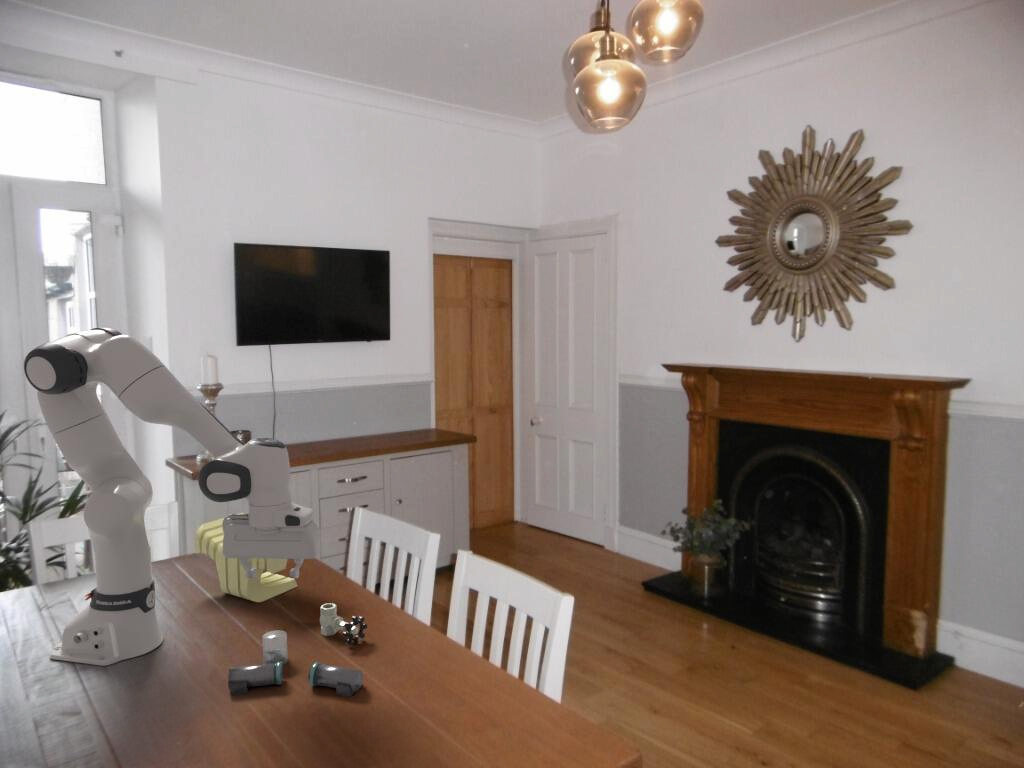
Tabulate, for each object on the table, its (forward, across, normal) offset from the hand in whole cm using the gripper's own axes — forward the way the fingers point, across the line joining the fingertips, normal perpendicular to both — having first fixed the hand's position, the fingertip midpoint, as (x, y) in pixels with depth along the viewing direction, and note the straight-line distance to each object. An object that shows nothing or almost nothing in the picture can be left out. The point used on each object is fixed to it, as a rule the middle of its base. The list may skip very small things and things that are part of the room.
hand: (272, 577), depth 155 cm
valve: (+19, +10, +12) cm, 25 cm away
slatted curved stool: (+19, -19, +39) cm, 48 cm away
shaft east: (+19, +16, -10) cm, 27 cm away
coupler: (+19, 0, 0) cm, 19 cm away
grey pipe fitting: (+19, 0, -10) cm, 21 cm away
